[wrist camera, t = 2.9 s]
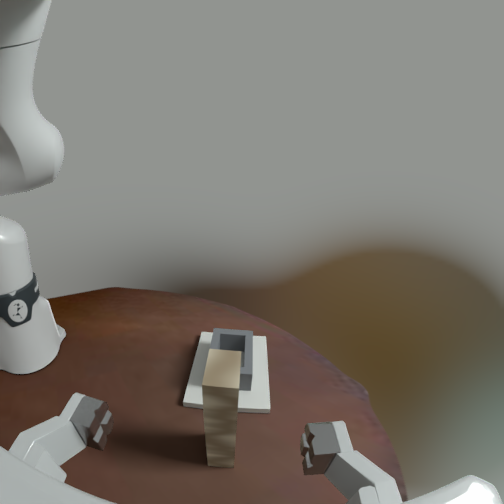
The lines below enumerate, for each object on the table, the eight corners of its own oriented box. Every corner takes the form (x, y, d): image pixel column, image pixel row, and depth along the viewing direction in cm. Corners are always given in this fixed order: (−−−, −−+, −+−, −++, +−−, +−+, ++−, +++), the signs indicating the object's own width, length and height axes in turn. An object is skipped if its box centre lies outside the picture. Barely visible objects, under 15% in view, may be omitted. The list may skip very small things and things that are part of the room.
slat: (207, 465, 25) (201, 385, 21) (211, 434, 30) (209, 348, 25) (233, 468, 25) (239, 388, 21) (235, 436, 30) (241, 351, 25)
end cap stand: (183, 406, 34) (180, 385, 33) (202, 335, 51) (201, 316, 50) (269, 413, 34) (273, 392, 33) (265, 340, 52) (267, 321, 50)
